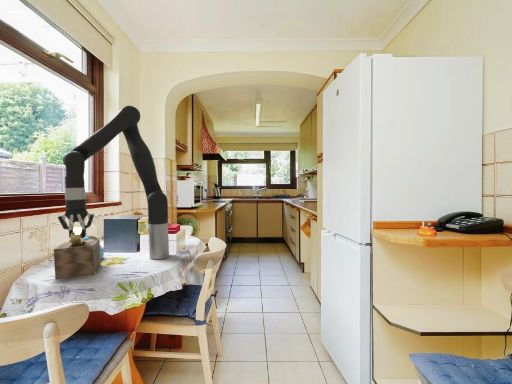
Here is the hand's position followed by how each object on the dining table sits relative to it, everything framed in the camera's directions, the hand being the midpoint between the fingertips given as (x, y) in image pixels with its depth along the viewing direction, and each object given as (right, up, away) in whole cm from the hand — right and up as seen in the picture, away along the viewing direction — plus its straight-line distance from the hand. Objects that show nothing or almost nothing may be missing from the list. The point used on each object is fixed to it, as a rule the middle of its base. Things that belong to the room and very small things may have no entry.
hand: (77, 237), depth 124 cm
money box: (0, -15, +1) cm, 15 cm away
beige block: (0, -2, +1) cm, 2 cm away
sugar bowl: (-6, -14, +17) cm, 23 cm away
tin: (-19, -14, +36) cm, 43 cm away
